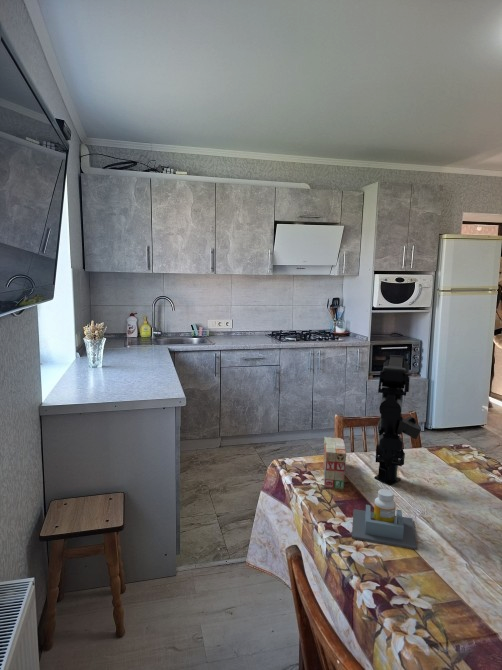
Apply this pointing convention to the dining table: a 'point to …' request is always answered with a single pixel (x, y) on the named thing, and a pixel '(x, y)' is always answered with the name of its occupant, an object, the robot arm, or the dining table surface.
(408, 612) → the dining table surface
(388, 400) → the robot arm
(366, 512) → the notch holder
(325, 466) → the stack of blocks
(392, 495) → the supplement bottle
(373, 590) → the dining table surface
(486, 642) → the dining table surface
